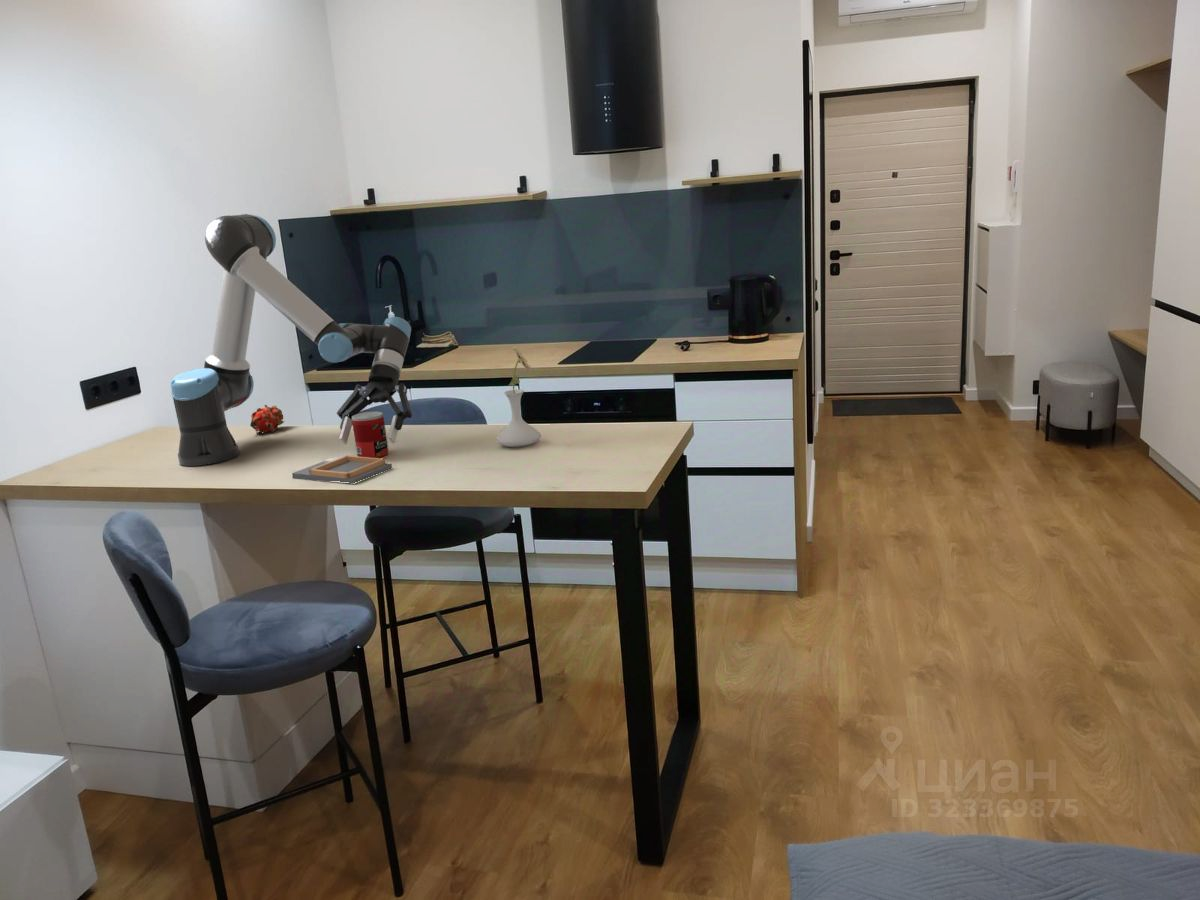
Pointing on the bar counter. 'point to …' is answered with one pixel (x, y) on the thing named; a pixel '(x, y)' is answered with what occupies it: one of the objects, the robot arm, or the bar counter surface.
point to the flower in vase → (517, 415)
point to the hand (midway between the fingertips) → (366, 441)
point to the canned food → (370, 435)
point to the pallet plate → (344, 469)
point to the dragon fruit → (266, 419)
